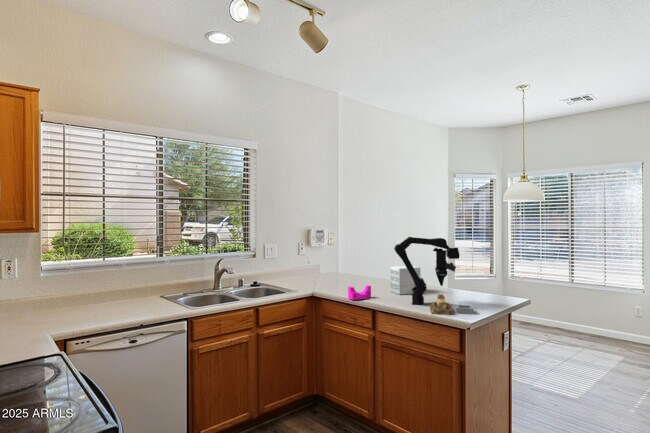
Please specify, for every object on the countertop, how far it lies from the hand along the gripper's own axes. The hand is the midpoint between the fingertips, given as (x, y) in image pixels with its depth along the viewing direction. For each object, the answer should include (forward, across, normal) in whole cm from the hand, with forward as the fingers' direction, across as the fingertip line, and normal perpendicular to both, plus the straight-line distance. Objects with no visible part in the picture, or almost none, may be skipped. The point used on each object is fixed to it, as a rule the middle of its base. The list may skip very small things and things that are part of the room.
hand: (441, 284), depth 236 cm
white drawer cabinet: (+12, +34, +23) cm, 43 cm away
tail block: (+12, 0, 0) cm, 12 cm away
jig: (+12, -16, +1) cm, 20 cm away
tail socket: (+12, -18, -11) cm, 24 cm away
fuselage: (+11, -16, +1) cm, 20 cm away
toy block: (+12, +8, +50) cm, 52 cm away
